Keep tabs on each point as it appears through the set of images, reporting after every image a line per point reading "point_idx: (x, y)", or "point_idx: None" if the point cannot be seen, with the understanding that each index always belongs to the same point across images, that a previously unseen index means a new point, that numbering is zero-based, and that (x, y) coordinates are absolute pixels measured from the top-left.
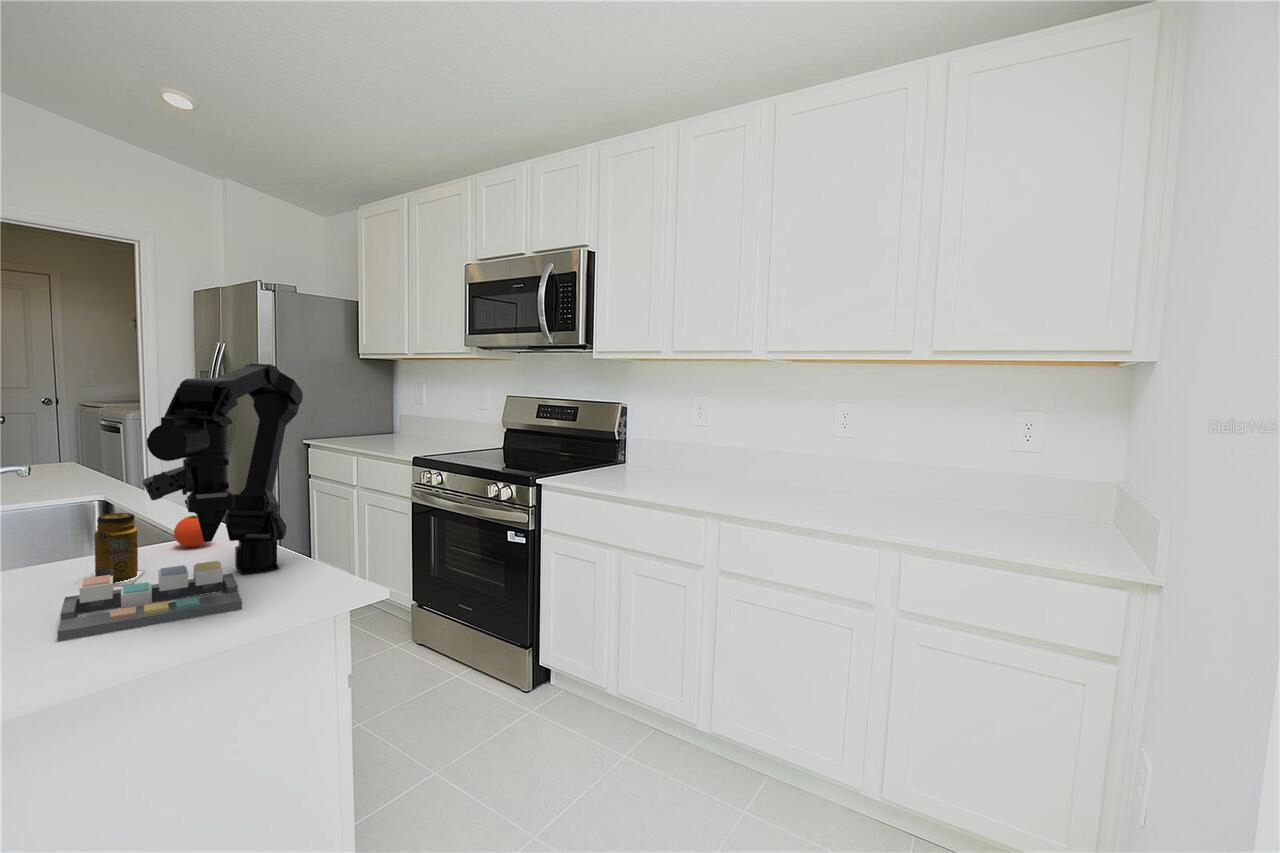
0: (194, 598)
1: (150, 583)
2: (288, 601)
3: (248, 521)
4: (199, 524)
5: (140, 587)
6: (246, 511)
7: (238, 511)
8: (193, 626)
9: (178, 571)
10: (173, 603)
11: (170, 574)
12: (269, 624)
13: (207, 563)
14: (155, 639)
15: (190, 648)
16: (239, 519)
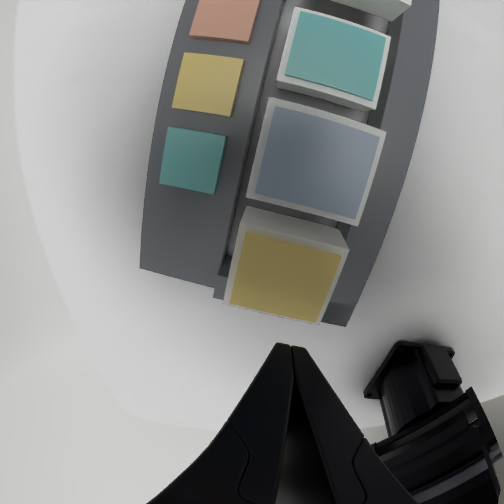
0: (201, 181)
1: (368, 105)
2: (144, 333)
3: (414, 472)
4: (338, 424)
5: (322, 59)
6: (429, 497)
7: (454, 484)
8: (106, 147)
9: (271, 170)
10: (232, 131)
11: (267, 137)
12: (51, 258)
13: (307, 287)
14: (88, 75)
15: (23, 128)
16: (443, 464)
